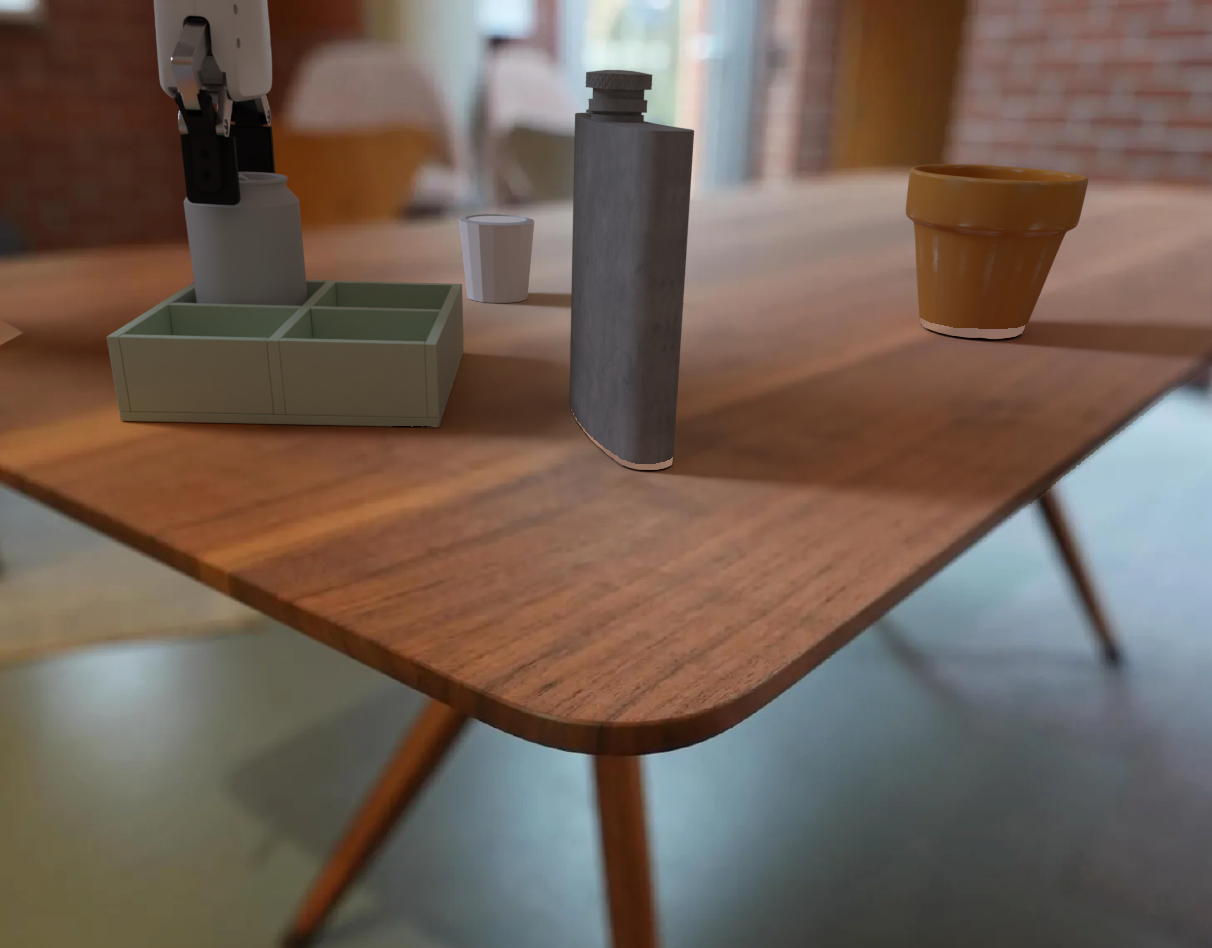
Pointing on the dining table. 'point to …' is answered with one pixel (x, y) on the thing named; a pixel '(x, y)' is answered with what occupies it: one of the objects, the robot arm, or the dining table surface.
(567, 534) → the dining table surface
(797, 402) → the dining table surface
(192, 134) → the robot arm
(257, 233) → the can
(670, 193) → the hip flask
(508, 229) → the shot glass
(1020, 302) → the flower pot
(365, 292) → the compartment tray
